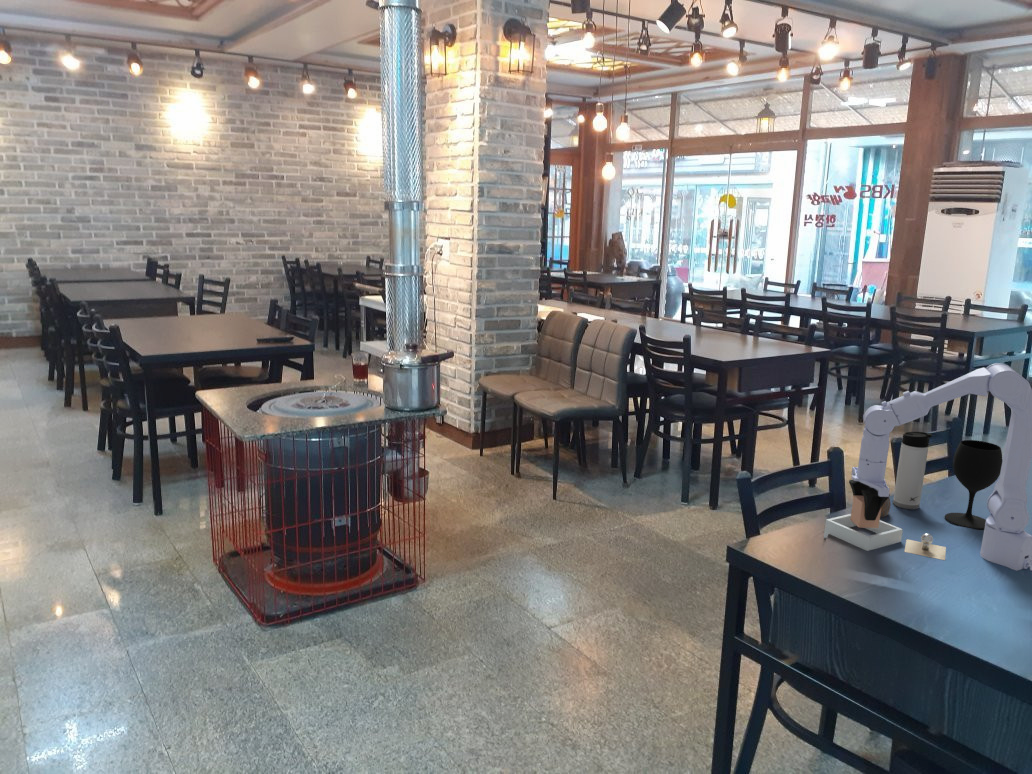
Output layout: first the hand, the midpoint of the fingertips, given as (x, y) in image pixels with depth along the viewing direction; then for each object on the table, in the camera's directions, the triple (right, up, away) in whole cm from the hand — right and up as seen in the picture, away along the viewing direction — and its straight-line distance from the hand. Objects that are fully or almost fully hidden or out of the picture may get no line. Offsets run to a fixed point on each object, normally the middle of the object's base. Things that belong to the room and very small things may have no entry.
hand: (865, 515), depth 182 cm
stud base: (+11, -8, -4) cm, 15 cm away
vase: (+9, -4, +17) cm, 20 cm away
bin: (0, -7, +1) cm, 7 cm away
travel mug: (+22, -2, +26) cm, 35 cm away
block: (0, -2, 0) cm, 2 cm away
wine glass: (+33, -4, +16) cm, 37 cm away
